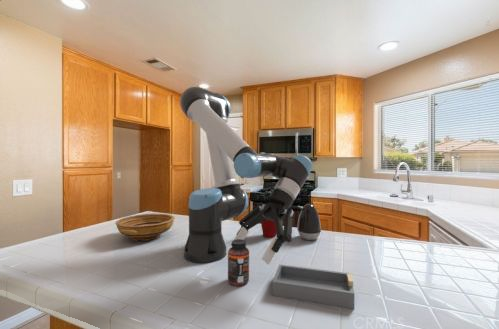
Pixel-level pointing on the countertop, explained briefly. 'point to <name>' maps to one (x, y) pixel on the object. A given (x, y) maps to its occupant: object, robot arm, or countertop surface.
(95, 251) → the countertop surface
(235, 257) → the supplement bottle
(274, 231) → the plastic cup
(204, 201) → the robot arm
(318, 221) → the pump dispenser
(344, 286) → the trough
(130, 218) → the brown woven oval bowl
